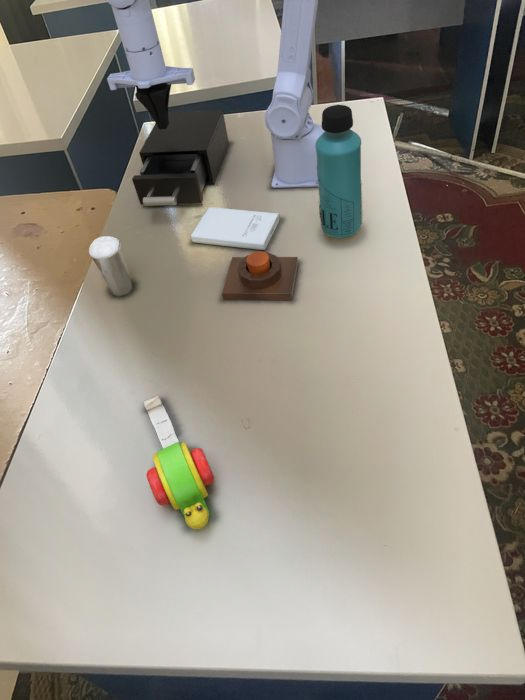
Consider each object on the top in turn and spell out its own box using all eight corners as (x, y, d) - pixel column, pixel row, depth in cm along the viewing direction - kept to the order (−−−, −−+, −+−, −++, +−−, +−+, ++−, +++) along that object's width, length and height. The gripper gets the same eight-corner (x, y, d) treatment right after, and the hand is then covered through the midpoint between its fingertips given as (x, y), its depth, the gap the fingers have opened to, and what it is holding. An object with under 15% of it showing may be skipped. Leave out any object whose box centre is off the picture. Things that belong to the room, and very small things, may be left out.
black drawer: (195, 219, 95) (188, 192, 91) (133, 220, 97) (123, 194, 93) (217, 161, 106) (211, 135, 103) (160, 163, 109) (153, 138, 105)
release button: (271, 260, 82) (270, 251, 81) (268, 275, 80) (267, 265, 79) (250, 260, 83) (248, 251, 82) (246, 275, 81) (244, 265, 80)
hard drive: (211, 213, 97) (280, 220, 93) (192, 243, 92) (264, 251, 88) (209, 205, 96) (279, 211, 92) (190, 235, 91) (263, 243, 87)
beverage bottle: (368, 224, 89) (369, 99, 74) (354, 250, 86) (352, 124, 71) (329, 218, 92) (322, 95, 77) (314, 243, 88) (304, 119, 73)
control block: (298, 263, 85) (296, 247, 83) (291, 300, 80) (289, 284, 78) (233, 263, 87) (230, 248, 85) (223, 299, 82) (219, 284, 80)
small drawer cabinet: (214, 184, 103) (206, 149, 98) (149, 186, 105) (138, 152, 100) (229, 143, 112) (222, 109, 107) (169, 146, 114) (160, 113, 109)
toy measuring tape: (176, 551, 58) (159, 523, 53) (130, 413, 71) (112, 380, 66) (233, 523, 59) (222, 494, 54) (178, 393, 72) (164, 359, 67)
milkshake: (135, 300, 84) (114, 247, 77) (103, 298, 86) (78, 246, 78) (146, 280, 87) (125, 226, 80) (114, 278, 89) (91, 226, 81)
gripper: (91, 59, 89) (118, 139, 99) (179, 52, 86) (198, 136, 96) (105, 40, 93) (130, 120, 103) (189, 33, 91) (207, 115, 101)
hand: (163, 126), depth 100 cm, fingers closed
